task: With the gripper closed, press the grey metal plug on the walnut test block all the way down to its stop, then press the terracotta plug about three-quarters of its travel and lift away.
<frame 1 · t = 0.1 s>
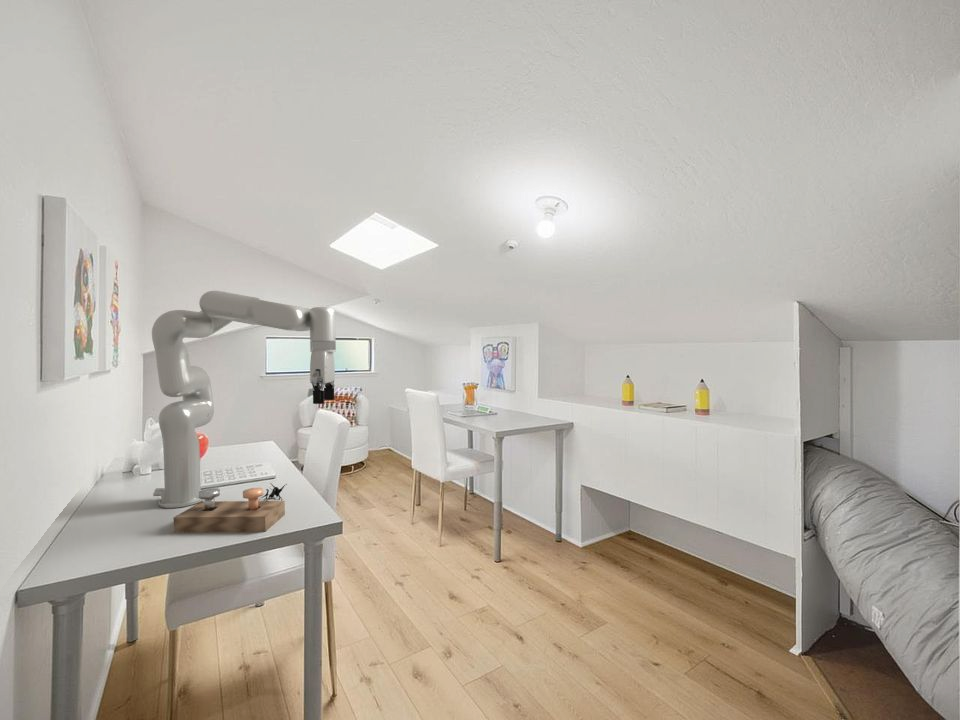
hand: (324, 401, 142), 31 cm above the table, tool pointing down, fingers open, 9 cm apart
creature: (272, 501, 143), on the table
terracotta plug: (253, 500, 125), point 6 cm above the table, slide at 0.0 cm
test block: (232, 523, 125), on the table
grey plug: (209, 500, 125), point 6 cm above the table, slide at 0.0 cm
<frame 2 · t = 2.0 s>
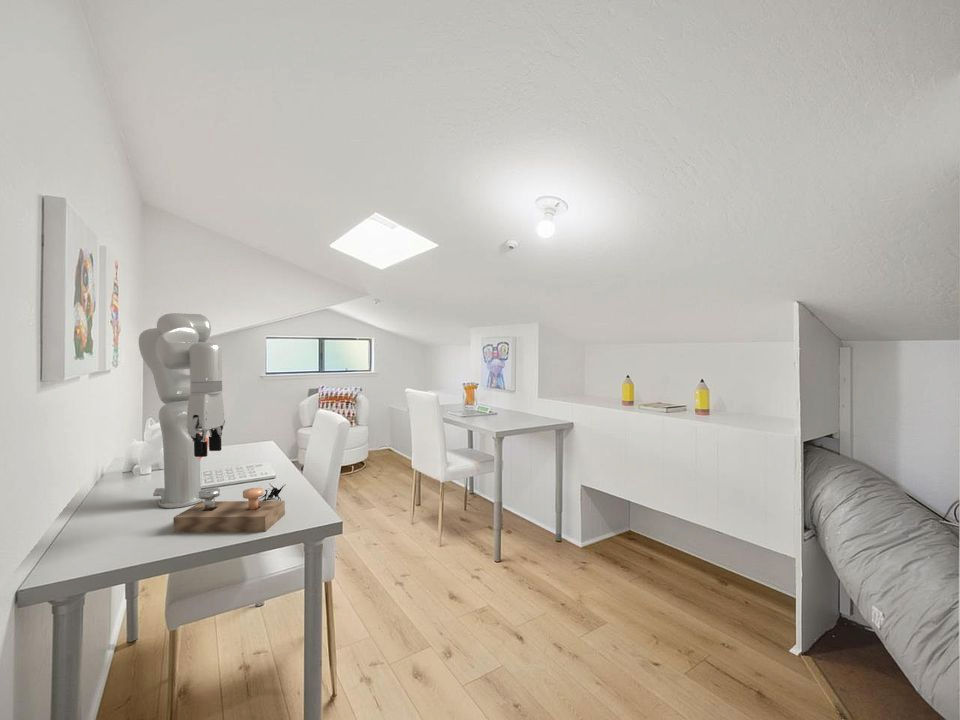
hand: (208, 452, 125), 20 cm above the table, tool pointing down, fingers open, 5 cm apart
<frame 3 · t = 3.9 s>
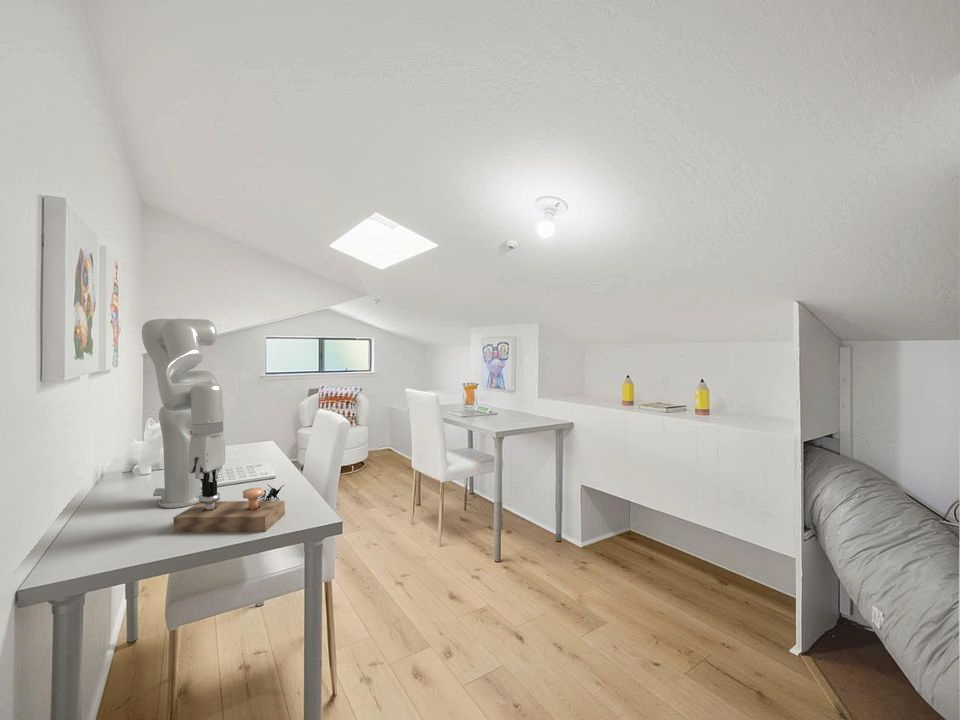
hand: (209, 495, 125), 8 cm above the table, tool pointing down, fingers closed
grey plug: (209, 505, 125), point 5 cm above the table, slide at 1.2 cm, touching gripper
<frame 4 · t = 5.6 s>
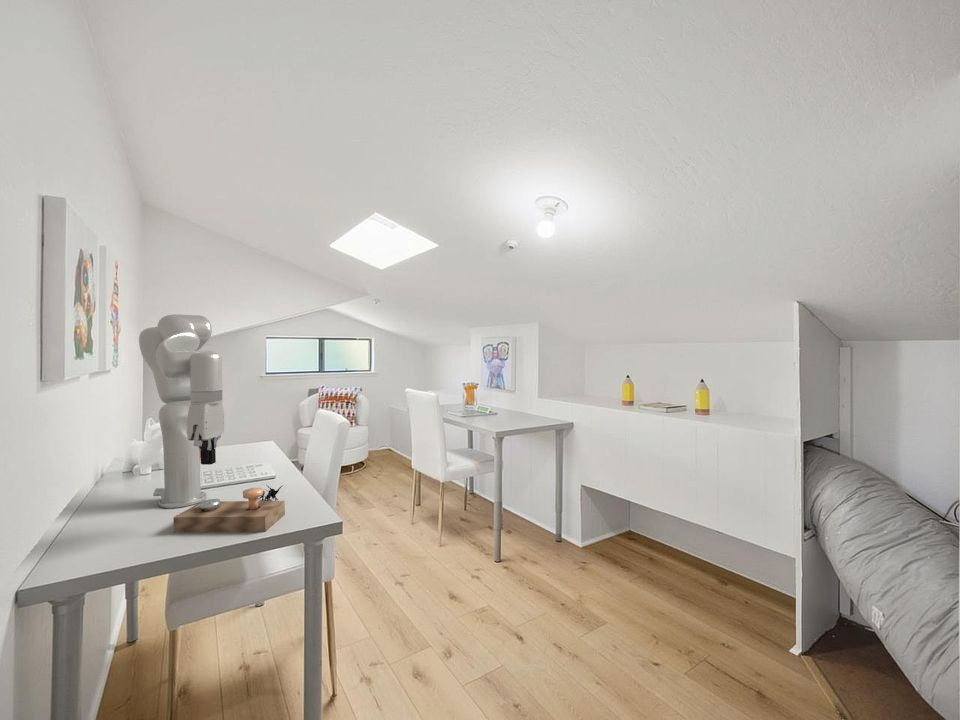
hand: (208, 463, 125), 17 cm above the table, tool pointing down, fingers closed
grey plug: (209, 511, 125), point 3 cm above the table, slide at 3.1 cm
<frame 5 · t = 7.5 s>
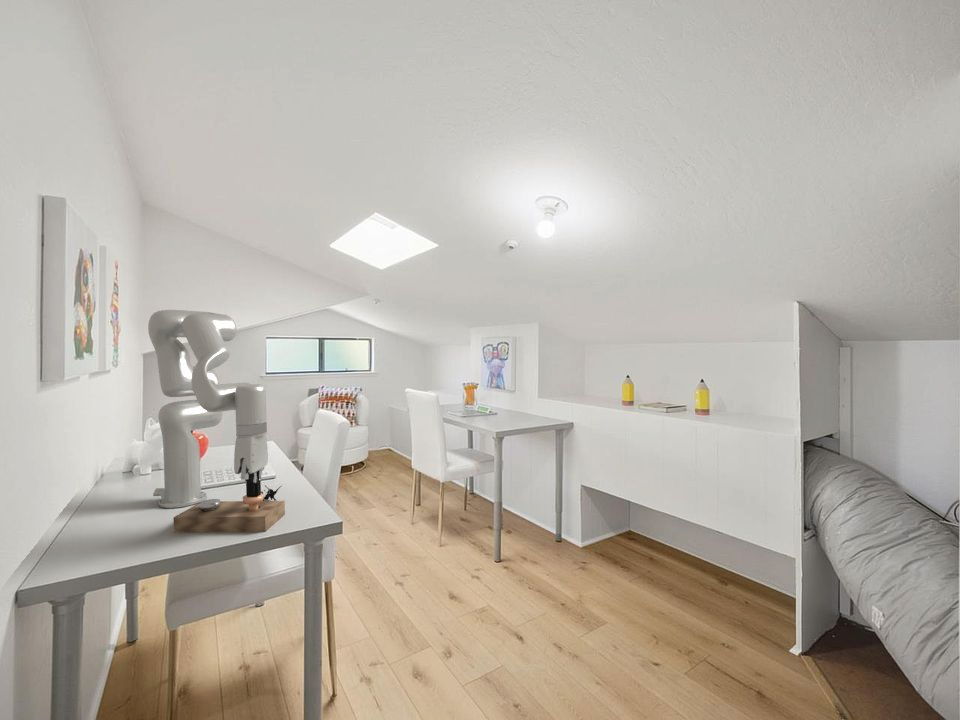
hand: (253, 495, 125), 8 cm above the table, tool pointing down, fingers closed
terracotta plug: (253, 505, 125), point 5 cm above the table, slide at 1.5 cm, touching gripper
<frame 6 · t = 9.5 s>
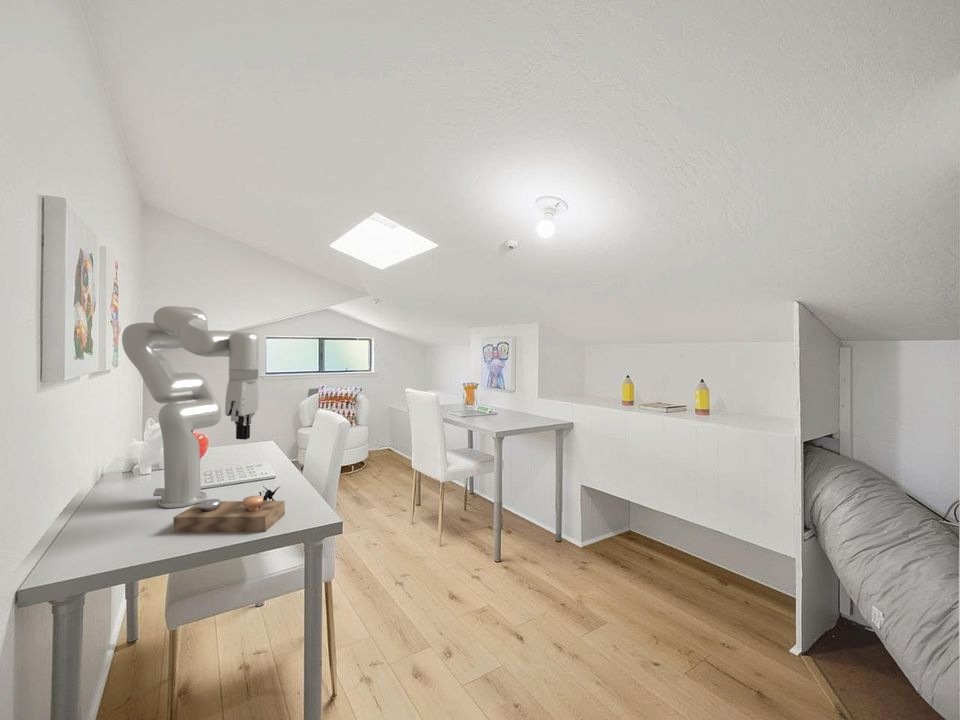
hand: (242, 438, 132), 22 cm above the table, tool pointing down, fingers closed
terracotta plug: (253, 508, 125), point 4 cm above the table, slide at 2.2 cm
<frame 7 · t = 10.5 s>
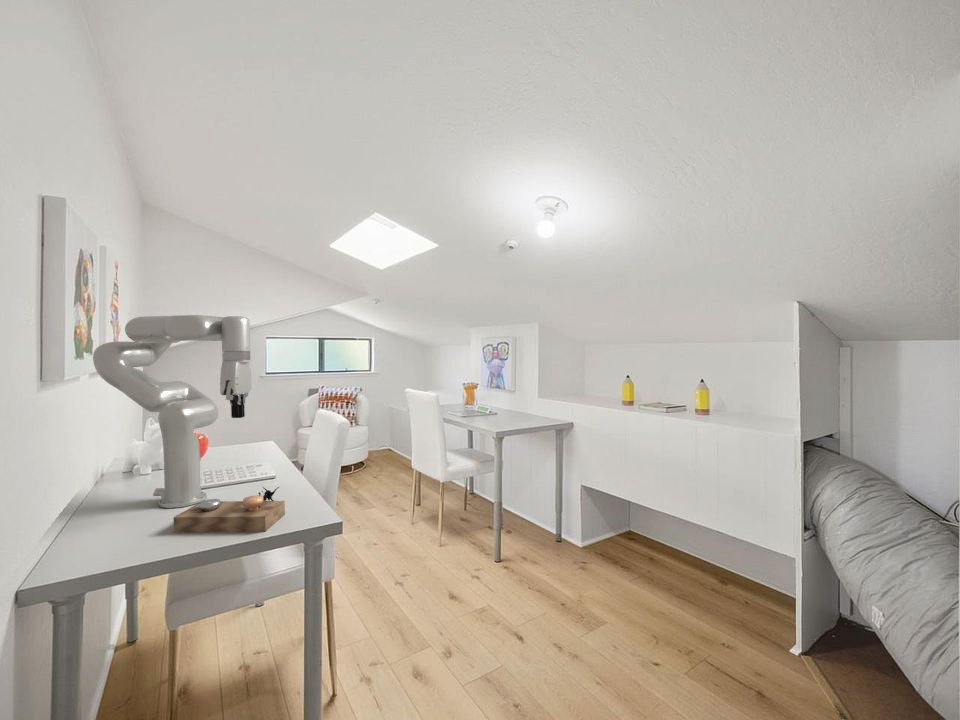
hand: (238, 417, 139), 27 cm above the table, tool pointing down, fingers closed
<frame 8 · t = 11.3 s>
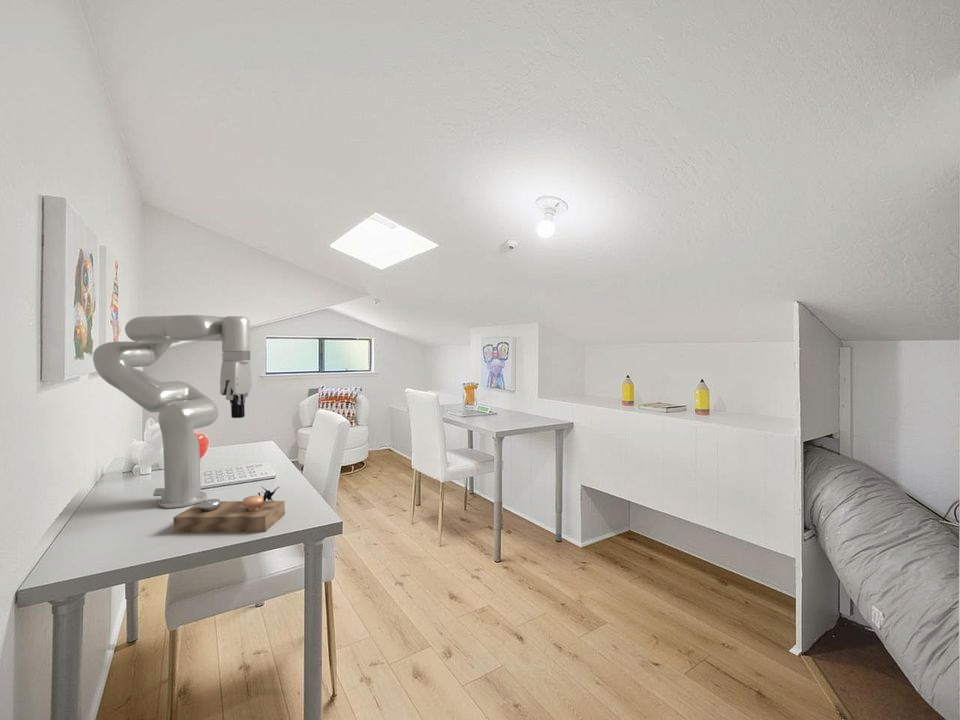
hand: (238, 417, 139), 27 cm above the table, tool pointing down, fingers closed
at the end: grey plug slide at 3.1 cm; terracotta plug slide at 2.2 cm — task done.
